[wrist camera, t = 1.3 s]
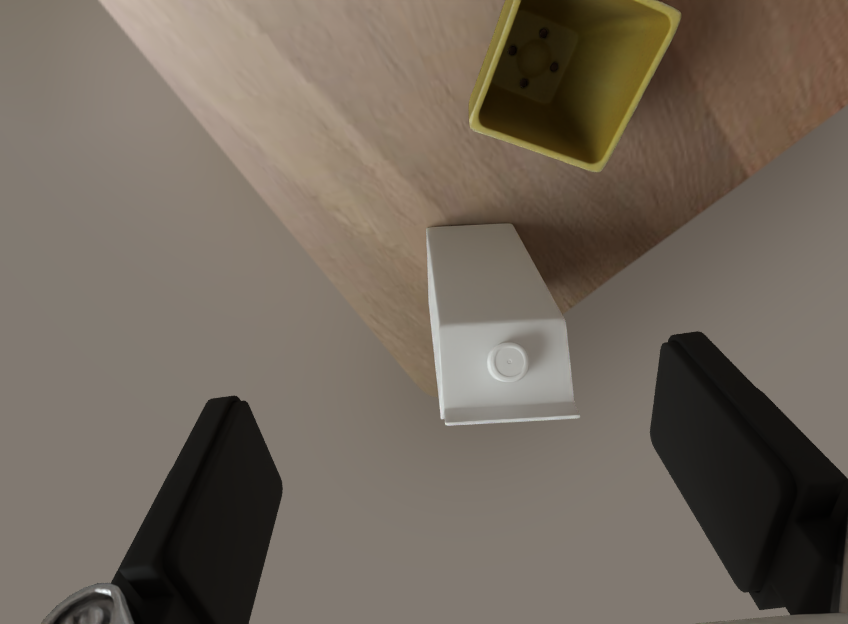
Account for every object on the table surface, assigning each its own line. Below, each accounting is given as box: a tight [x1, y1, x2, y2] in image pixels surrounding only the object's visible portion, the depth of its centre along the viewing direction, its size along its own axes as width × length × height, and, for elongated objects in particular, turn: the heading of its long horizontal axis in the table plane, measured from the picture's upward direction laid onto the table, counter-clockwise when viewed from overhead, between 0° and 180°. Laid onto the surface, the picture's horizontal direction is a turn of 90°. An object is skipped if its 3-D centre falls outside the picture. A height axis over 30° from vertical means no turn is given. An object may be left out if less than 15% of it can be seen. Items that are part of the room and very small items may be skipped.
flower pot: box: [469, 0, 682, 172], centre depth 30 cm, size 9×9×9 cm
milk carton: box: [426, 223, 580, 426], centre depth 33 cm, size 7×7×19 cm
